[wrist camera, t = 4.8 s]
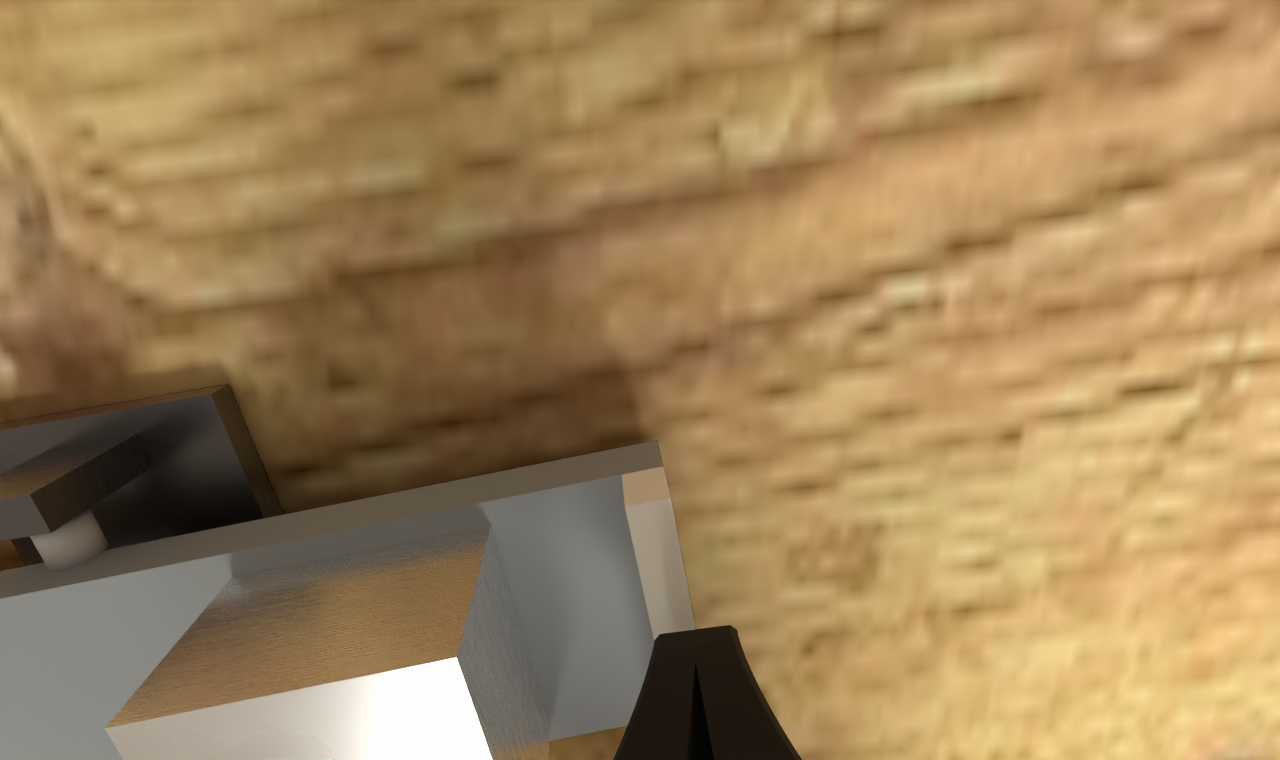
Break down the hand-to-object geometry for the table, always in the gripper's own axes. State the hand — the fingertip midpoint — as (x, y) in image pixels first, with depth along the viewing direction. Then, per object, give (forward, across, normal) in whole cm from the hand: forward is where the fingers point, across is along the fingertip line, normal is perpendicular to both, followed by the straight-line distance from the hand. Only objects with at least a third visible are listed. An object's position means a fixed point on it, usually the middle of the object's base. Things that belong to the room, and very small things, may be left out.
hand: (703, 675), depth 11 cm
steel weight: (+2, +6, 0) cm, 6 cm away
